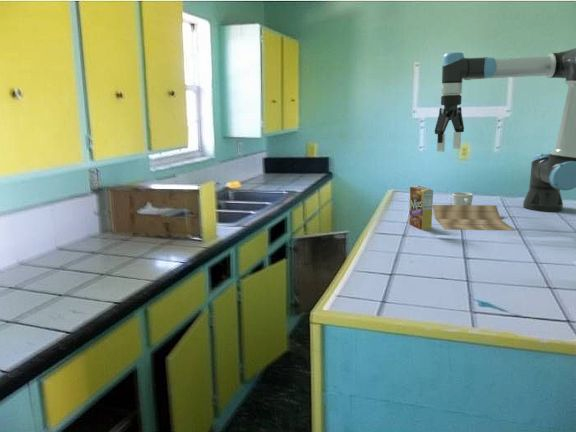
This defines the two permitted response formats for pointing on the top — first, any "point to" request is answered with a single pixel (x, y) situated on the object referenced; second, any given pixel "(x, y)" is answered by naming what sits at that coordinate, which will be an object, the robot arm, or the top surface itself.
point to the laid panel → (474, 224)
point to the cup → (462, 198)
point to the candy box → (420, 207)
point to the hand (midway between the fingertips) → (448, 150)
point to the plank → (466, 212)
